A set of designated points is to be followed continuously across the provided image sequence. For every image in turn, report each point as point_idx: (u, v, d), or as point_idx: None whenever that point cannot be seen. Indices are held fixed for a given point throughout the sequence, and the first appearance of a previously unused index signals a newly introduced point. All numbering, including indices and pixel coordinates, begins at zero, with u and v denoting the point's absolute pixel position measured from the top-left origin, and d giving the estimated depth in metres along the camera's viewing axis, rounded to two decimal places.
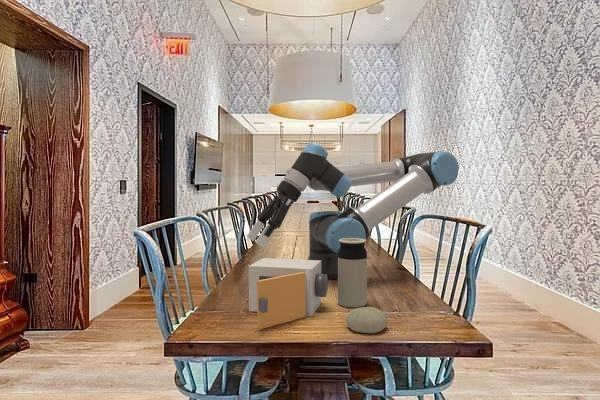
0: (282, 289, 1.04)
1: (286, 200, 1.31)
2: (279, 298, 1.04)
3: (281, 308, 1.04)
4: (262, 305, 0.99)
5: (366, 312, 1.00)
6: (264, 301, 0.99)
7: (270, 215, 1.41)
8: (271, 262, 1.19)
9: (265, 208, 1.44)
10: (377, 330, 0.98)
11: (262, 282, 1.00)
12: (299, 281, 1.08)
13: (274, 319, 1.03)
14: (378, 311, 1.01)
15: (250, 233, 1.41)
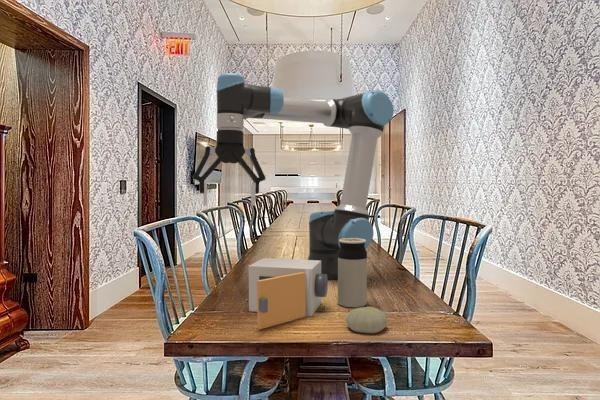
0: (282, 289, 1.04)
1: None
2: (279, 298, 1.04)
3: (281, 308, 1.04)
4: (262, 305, 0.99)
5: (366, 312, 1.00)
6: (264, 301, 0.99)
7: None
8: (271, 262, 1.19)
9: (201, 165, 1.20)
10: (377, 330, 0.98)
11: (262, 282, 1.00)
12: (299, 281, 1.08)
13: (274, 319, 1.03)
14: (378, 311, 1.01)
15: (206, 199, 1.21)
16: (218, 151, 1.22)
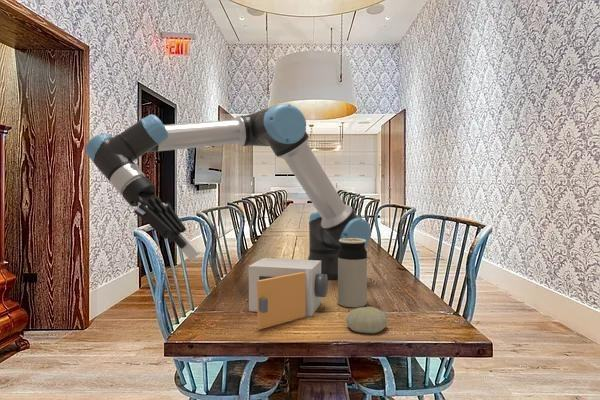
0: (282, 289, 1.04)
1: None
2: (279, 298, 1.04)
3: (281, 308, 1.04)
4: (262, 305, 0.99)
5: (366, 312, 1.00)
6: (264, 301, 0.99)
7: None
8: (271, 262, 1.19)
9: (159, 219, 1.03)
10: (377, 330, 0.98)
11: (262, 282, 1.00)
12: (299, 281, 1.08)
13: (274, 319, 1.03)
14: (378, 311, 1.01)
15: None
16: (144, 201, 1.04)
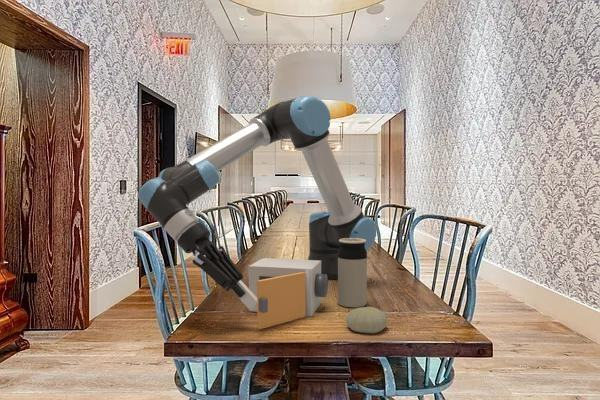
0: (282, 289, 1.04)
1: None
2: (279, 298, 1.04)
3: (281, 308, 1.04)
4: (262, 305, 0.99)
5: (366, 312, 1.00)
6: (264, 301, 0.99)
7: None
8: (271, 262, 1.19)
9: (218, 269, 0.99)
10: (377, 330, 0.98)
11: (262, 282, 1.00)
12: (299, 281, 1.08)
13: (274, 319, 1.03)
14: (378, 311, 1.01)
15: None
16: (201, 249, 1.01)
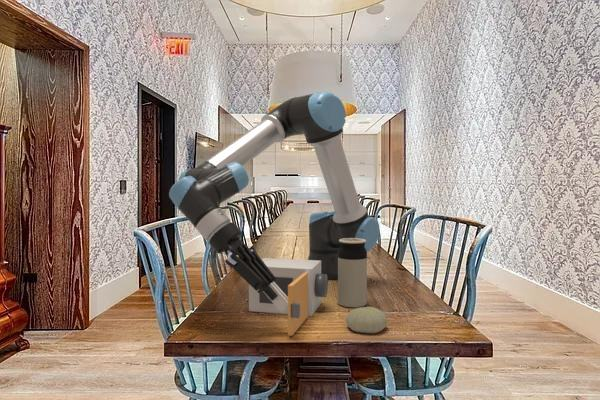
0: (300, 292, 1.02)
1: None
2: (299, 301, 1.01)
3: (299, 311, 1.02)
4: (296, 310, 0.95)
5: (366, 312, 1.00)
6: (298, 306, 0.95)
7: None
8: (271, 262, 1.19)
9: (251, 270, 0.97)
10: (377, 330, 0.98)
11: (293, 286, 0.96)
12: (306, 282, 1.07)
13: (297, 323, 1.00)
14: (378, 311, 1.01)
15: None
16: (234, 249, 0.99)
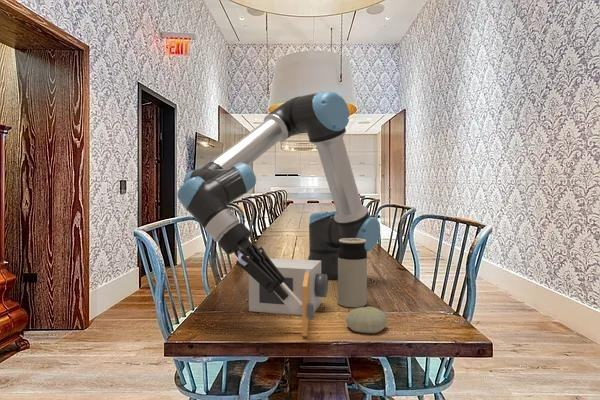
0: None
1: None
2: None
3: None
4: (311, 310, 0.95)
5: (366, 312, 1.00)
6: (313, 306, 0.95)
7: None
8: None
9: (262, 271, 0.97)
10: (377, 330, 0.98)
11: (307, 287, 0.96)
12: None
13: None
14: (378, 311, 1.01)
15: None
16: (244, 250, 0.98)
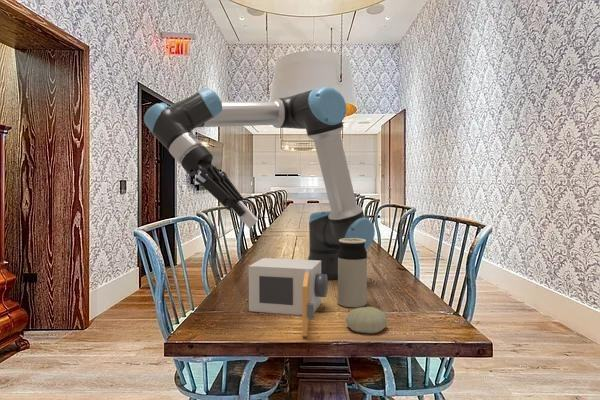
0: None
1: None
2: None
3: None
4: (311, 310, 0.95)
5: (366, 312, 1.00)
6: (313, 306, 0.95)
7: None
8: (271, 262, 1.19)
9: (219, 187, 1.04)
10: (377, 330, 0.98)
11: (307, 287, 0.96)
12: None
13: None
14: (378, 311, 1.01)
15: None
16: (204, 169, 1.05)
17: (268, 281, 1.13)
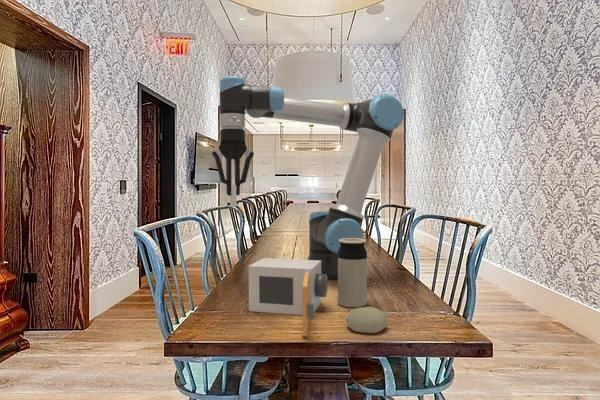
0: None
1: (252, 156, 1.34)
2: None
3: None
4: (311, 310, 0.95)
5: (366, 312, 1.00)
6: (313, 306, 0.95)
7: None
8: (271, 262, 1.19)
9: (220, 169, 1.31)
10: (377, 330, 0.98)
11: (307, 287, 0.96)
12: None
13: None
14: (378, 311, 1.01)
15: None
16: (222, 148, 1.31)
17: (268, 281, 1.13)
